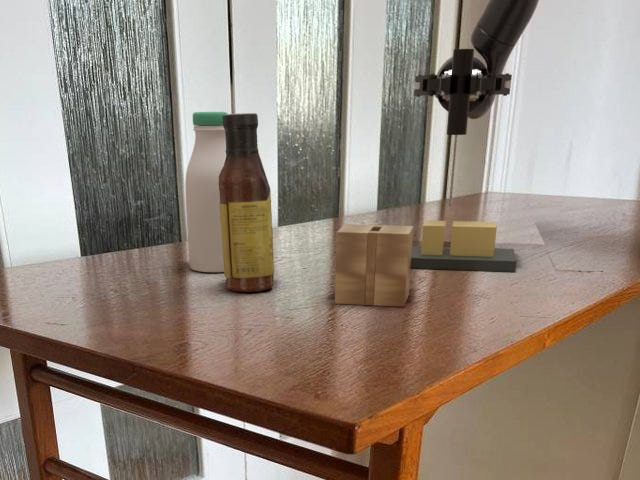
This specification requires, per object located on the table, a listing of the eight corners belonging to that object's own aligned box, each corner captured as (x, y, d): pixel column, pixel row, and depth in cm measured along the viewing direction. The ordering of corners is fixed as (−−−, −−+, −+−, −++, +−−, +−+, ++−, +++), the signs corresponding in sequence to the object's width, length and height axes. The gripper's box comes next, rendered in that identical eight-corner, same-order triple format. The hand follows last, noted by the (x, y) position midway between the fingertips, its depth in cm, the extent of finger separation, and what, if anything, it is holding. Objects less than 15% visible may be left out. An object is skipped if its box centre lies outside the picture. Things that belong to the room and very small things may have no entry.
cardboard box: (408, 295, 91) (413, 225, 87) (404, 307, 85) (409, 233, 82) (342, 292, 92) (344, 224, 89) (334, 303, 87) (336, 231, 83)
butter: (512, 259, 111) (517, 220, 109) (515, 272, 103) (520, 230, 100) (403, 255, 115) (405, 217, 112) (397, 268, 106) (399, 227, 104)
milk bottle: (242, 273, 103) (237, 111, 95) (186, 273, 104) (176, 112, 95) (245, 263, 110) (241, 111, 101) (193, 263, 110) (184, 111, 102)
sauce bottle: (284, 288, 95) (283, 112, 86) (249, 296, 91) (244, 113, 82) (247, 281, 99) (243, 112, 90) (212, 289, 95) (203, 113, 86)
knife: (459, 204, 106) (474, 49, 98) (459, 206, 104) (474, 48, 96) (441, 203, 107) (453, 50, 98) (440, 206, 105) (453, 49, 96)
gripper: (417, 58, 111) (407, 51, 96) (515, 56, 108) (521, 48, 93) (413, 114, 114) (403, 116, 99) (508, 114, 111) (513, 116, 96)
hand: (460, 84), depth 96 cm, fingers closed on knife, 2 cm apart
